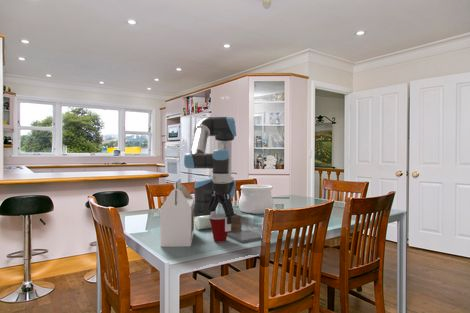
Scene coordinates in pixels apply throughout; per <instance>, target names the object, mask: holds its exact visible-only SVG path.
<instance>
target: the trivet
mask: <svg viewBox="0 0 470 313" xmlns="http://www.w3.org/2000/svg"><path fill="white" fill-rule="evenodd" d="M227 237H228V238H230V239H232V240H235V241H237V242H238V243H241V244H244V243H249V242H255V241H260V240H262V239H261V233H259V232H256V231H254V230H252V229H245V230H242V231H237V232H231V233H227Z"/></svg>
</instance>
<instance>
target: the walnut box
mask: <svg viewBox="0 0 470 313" xmlns="http://www.w3.org/2000/svg"><path fill="white" fill-rule="evenodd" d="M242 220H243V219H242V215H241V214H238V213H235V212H234V216H232V217H231V231H228V233H232V232H238V231H243V230H242V229H243V228H242V222H243V221H242Z"/></svg>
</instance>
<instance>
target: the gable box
mask: <svg viewBox="0 0 470 313" xmlns="http://www.w3.org/2000/svg"><path fill="white" fill-rule="evenodd" d="M172 187H173V190H171V192H170V193H169V194H168V196H167V198H165V200H164V202H163V204H162V205H161V206H160V247H161V248H169V247H172V248H174V247H175V248H176V247H181V248H182V247H184V248H185V247H191V246H192V244H193V239H194V234H195V225H194V219H195V216H194V203H195V198H193V196H192V195H191V193H190V191H189V190H188V189H187V187H186V185H184V184H182V179H181V178H179V180H177V181H176V182H174V183H173V184H172Z"/></svg>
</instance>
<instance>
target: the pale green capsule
mask: <svg viewBox="0 0 470 313" xmlns="http://www.w3.org/2000/svg"><path fill="white" fill-rule="evenodd" d="M208 216H210V215H206V216H194V229H196V230H197V231H201V230H206V229H212V228H211V225H210V219H209V218H208Z"/></svg>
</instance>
